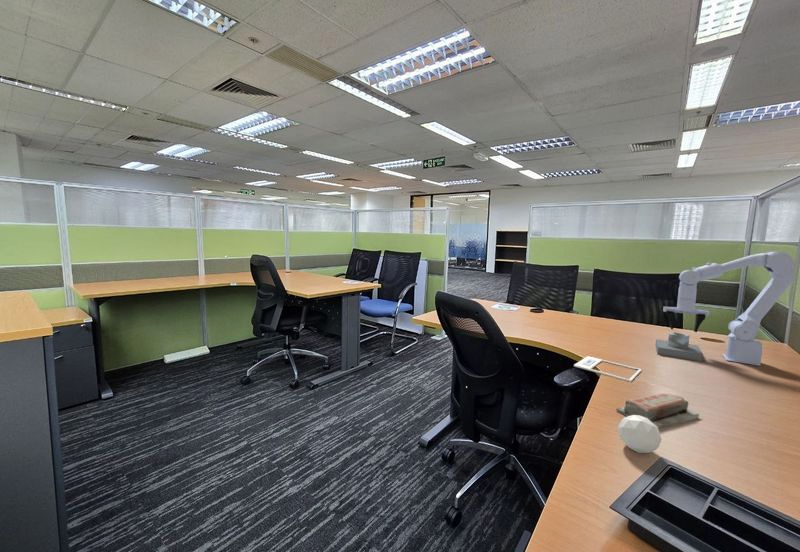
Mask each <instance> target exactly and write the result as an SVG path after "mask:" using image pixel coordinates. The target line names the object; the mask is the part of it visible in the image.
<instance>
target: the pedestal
mask: <svg viewBox="0 0 800 552" xmlns="http://www.w3.org/2000/svg"><path fill="white" fill-rule="evenodd" d="M655 350H656V355H658V356H659V355H660V356H664V357H665V356H666V357H667V356H668V357H673V358H678V359H683V360H690V361H697V362H703V357H704V353H703V352H702V351H701V348H700V347H699V344H698V345H697V344H692V343H689V346H688V347H687V348H684V349H681V348H677V347H672V346H668V340H666V339H665V340H664V339H657V338H656V339H655Z"/></svg>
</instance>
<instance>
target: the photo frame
mask: <svg viewBox="0 0 800 552" xmlns="http://www.w3.org/2000/svg"><path fill="white" fill-rule="evenodd" d="M602 362H603V363H607V364H610V365H611V364H612V365H615V366H620V367H623V368H627V369H632V370H635V371H636V372H635V373H633V374H632V376H631V377H630V378H626V377H622V376H618V375H616V374H615V375H614V374H611V373H607V372H605V371H604V372H603V371H600V370H596V369H593V368H595V367H596V366H598V365H600V363H602ZM573 367H575V368H577V369H578V368H579V369H582V370H586V371H589V372H593V373H597V374H600V375H604V376H608V377H611V378H615V379H619V380H622V381H627V382H630V383H632V381H633V380H634V379H635V378H636V377H637V376H638V375H639V374H640V373H641V372H642V370H643V369H641V368H639V367H633V366H629V365H626V364H621V363H617V362H613V361H609V360H606V359H601V358H597V357H592V356H589V355H587V356H586V357H584V358H582V359H581V360H579V361H578V362H576V363H574V364H573Z"/></svg>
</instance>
